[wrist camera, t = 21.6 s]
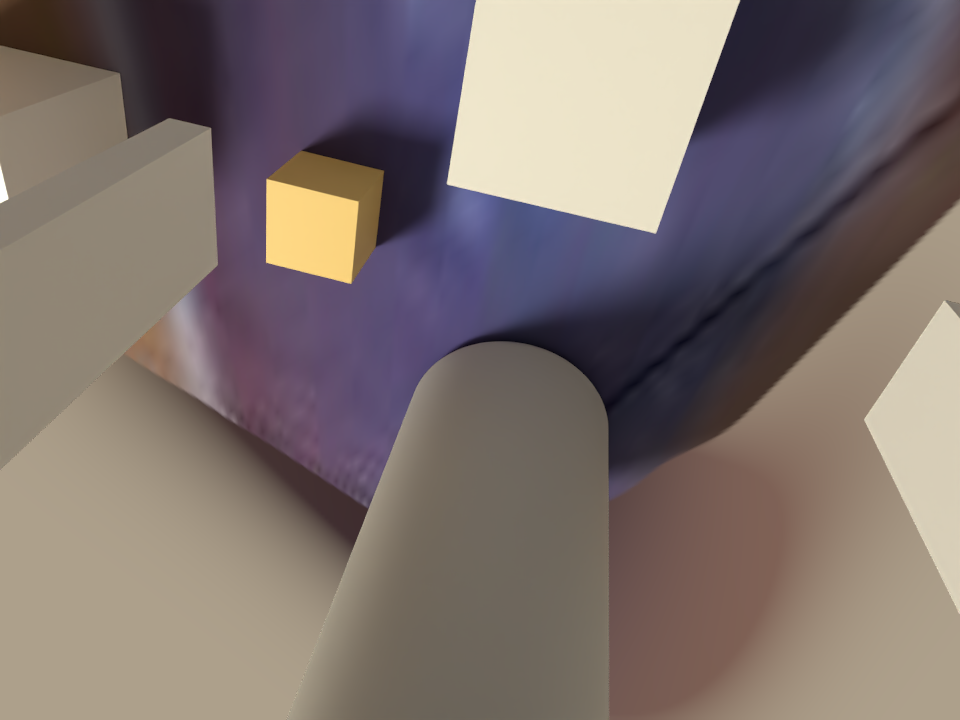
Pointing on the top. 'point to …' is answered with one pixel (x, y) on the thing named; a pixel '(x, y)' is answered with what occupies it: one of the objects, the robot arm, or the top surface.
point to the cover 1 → (53, 117)
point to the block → (322, 216)
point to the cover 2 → (585, 101)
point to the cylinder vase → (478, 555)
